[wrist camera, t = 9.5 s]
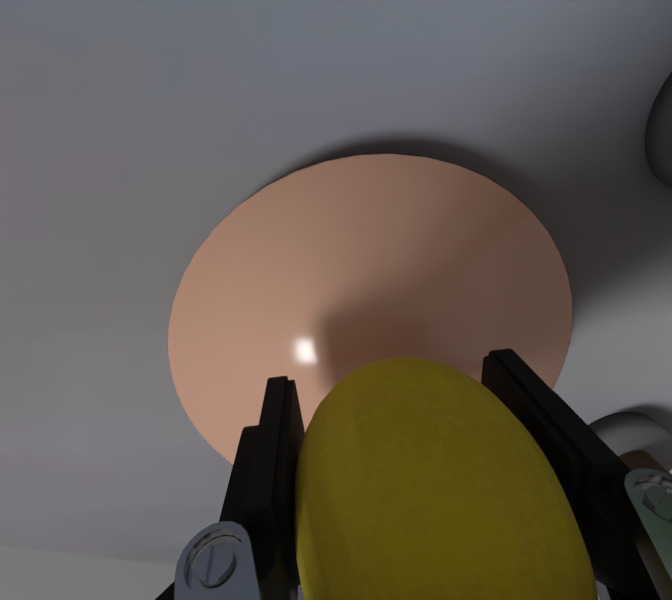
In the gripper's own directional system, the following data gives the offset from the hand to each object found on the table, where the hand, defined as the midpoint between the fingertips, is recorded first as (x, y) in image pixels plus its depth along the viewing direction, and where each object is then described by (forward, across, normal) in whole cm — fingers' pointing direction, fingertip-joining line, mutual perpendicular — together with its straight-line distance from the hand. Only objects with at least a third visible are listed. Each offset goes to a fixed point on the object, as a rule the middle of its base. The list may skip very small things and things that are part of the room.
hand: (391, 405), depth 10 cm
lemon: (+1, 0, 0) cm, 1 cm away
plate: (+3, 0, 0) cm, 3 cm away
